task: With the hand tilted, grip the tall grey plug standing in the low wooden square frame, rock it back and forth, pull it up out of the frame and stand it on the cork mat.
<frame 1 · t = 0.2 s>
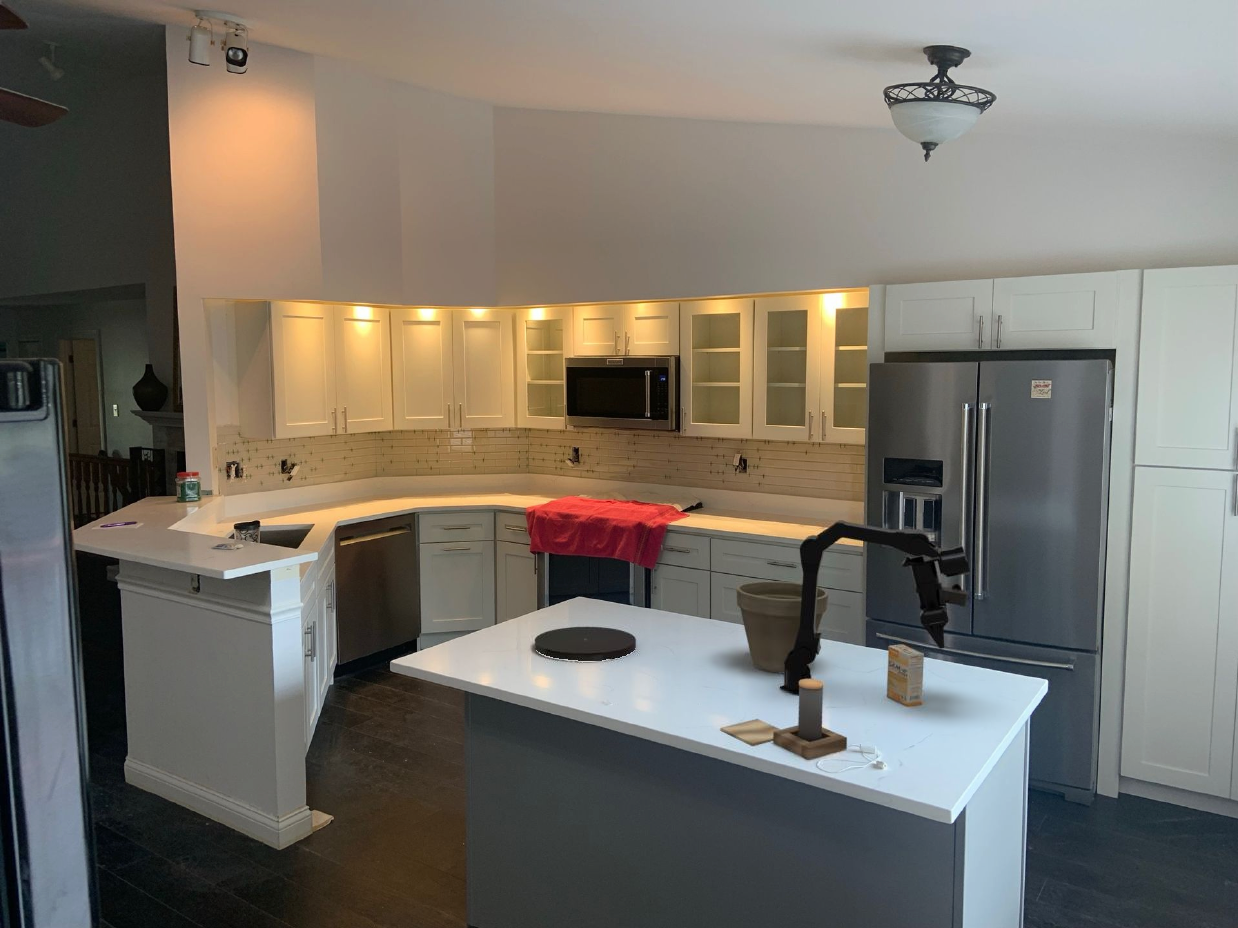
hand: (941, 643, 227), 15 cm above the countertop, tool pointing down, fingers open, 9 cm apart
cork mat: (755, 732, 208), on the countertop
disc: (585, 649, 276), on the countertop
plant pot: (780, 666, 259), on the countertop
wooden square frame: (809, 745, 201), on the countertop
supplement box: (904, 701, 231), on the countertop
plug: (810, 714, 201), in the wooden square frame
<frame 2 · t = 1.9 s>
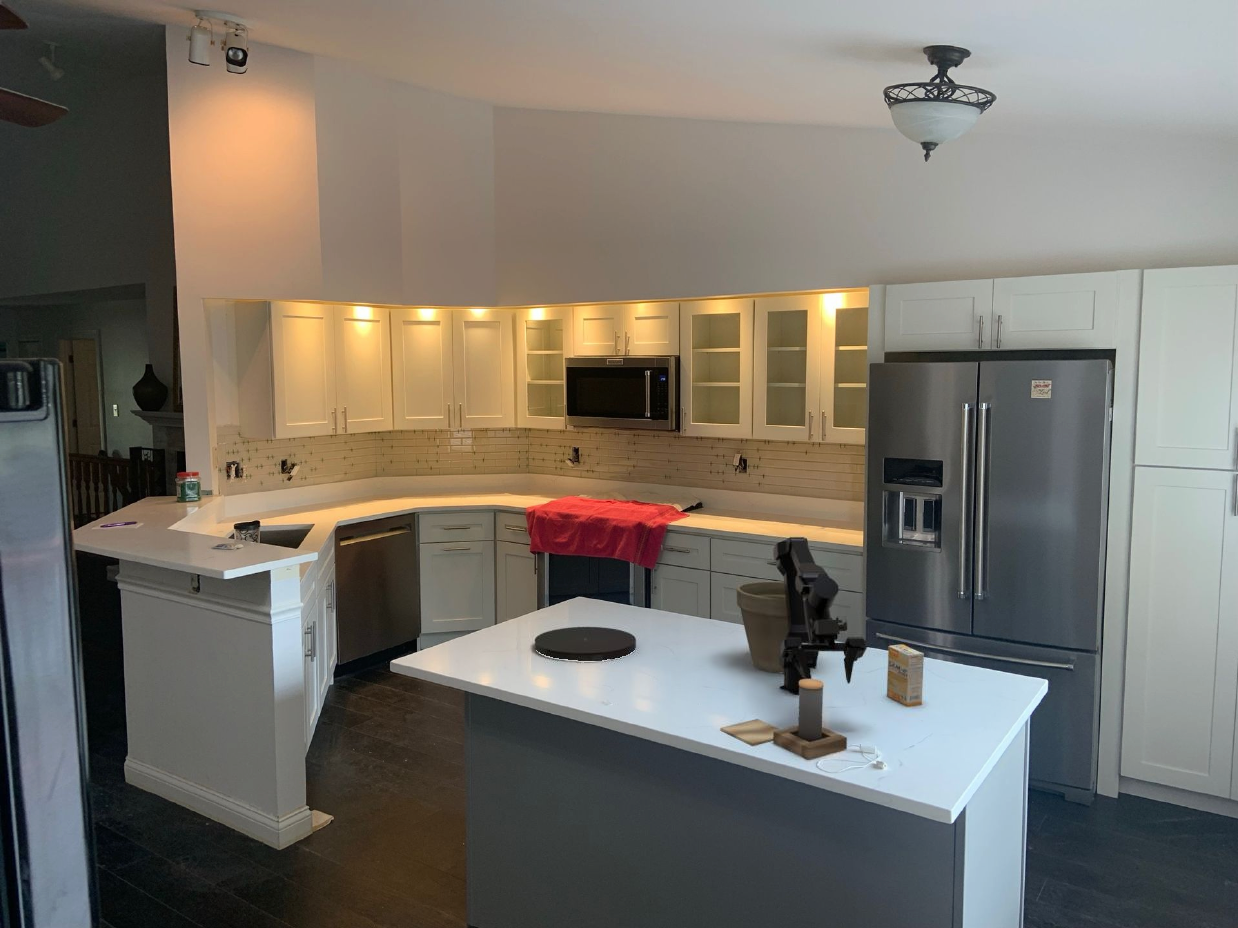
hand: (828, 682, 207), 12 cm above the countertop, tool tilted 40°, fingers open, 9 cm apart
nothing on the countertop moved.
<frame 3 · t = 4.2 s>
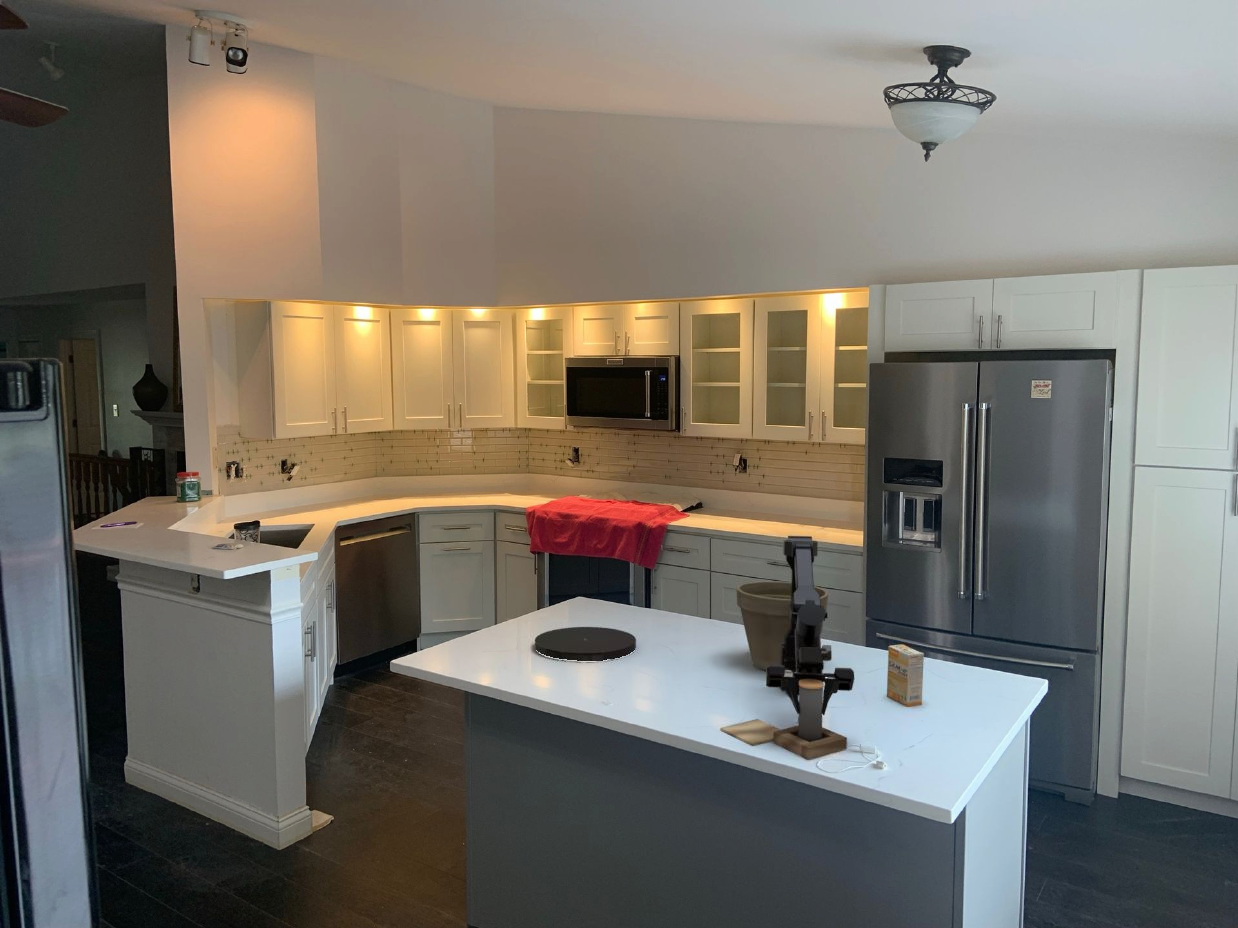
hand: (810, 713, 199), 8 cm above the countertop, tool tilted 45°, fingers closed on plug, 5 cm apart
plug: (810, 714, 201), in the wooden square frame, touching gripper
everything else where it was.
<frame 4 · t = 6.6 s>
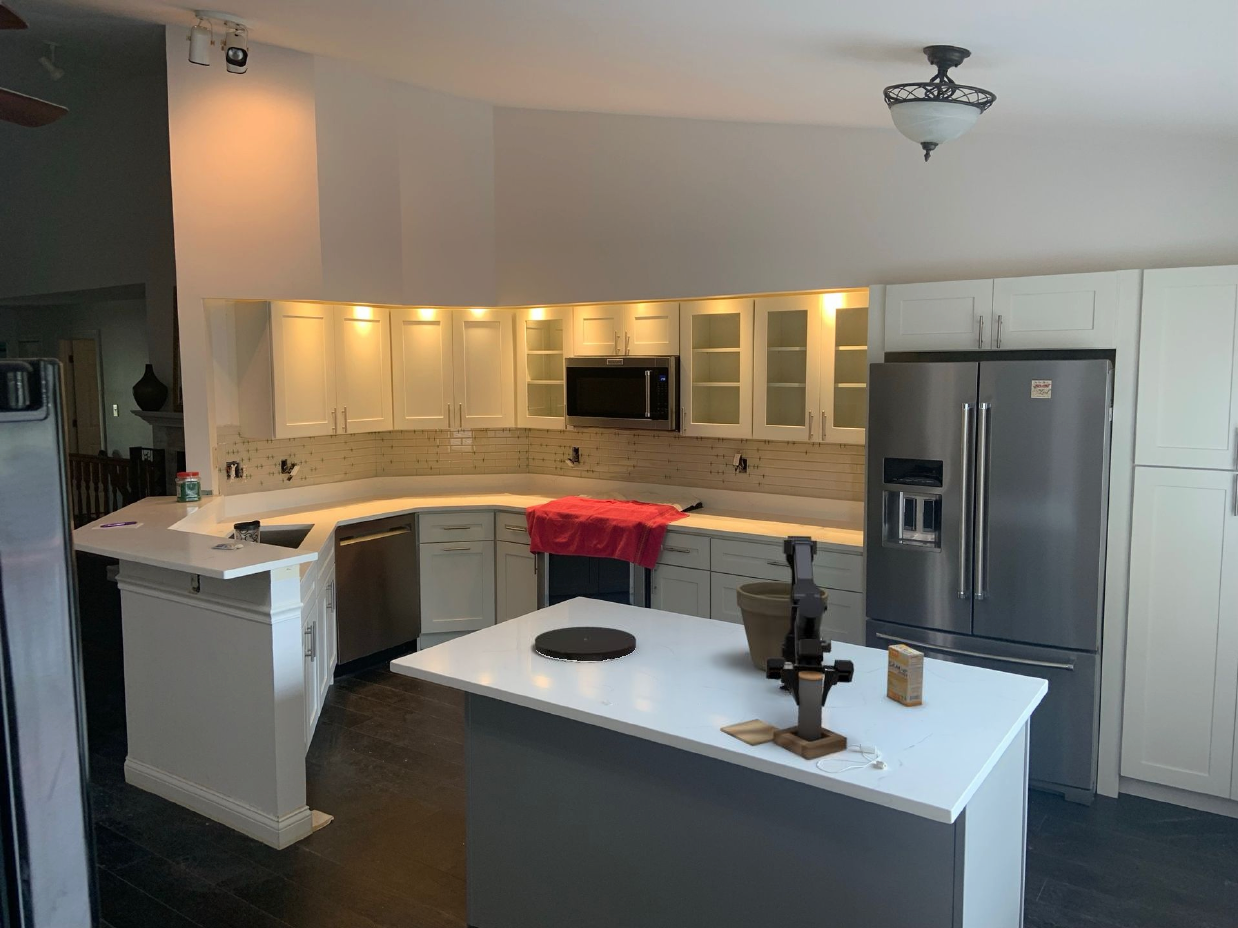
hand: (810, 705, 200), 9 cm above the countertop, tool tilted 45°, fingers closed on plug, 5 cm apart
plug: (810, 705, 201), point 9 cm above the countertop, touching gripper
everything else where it was.
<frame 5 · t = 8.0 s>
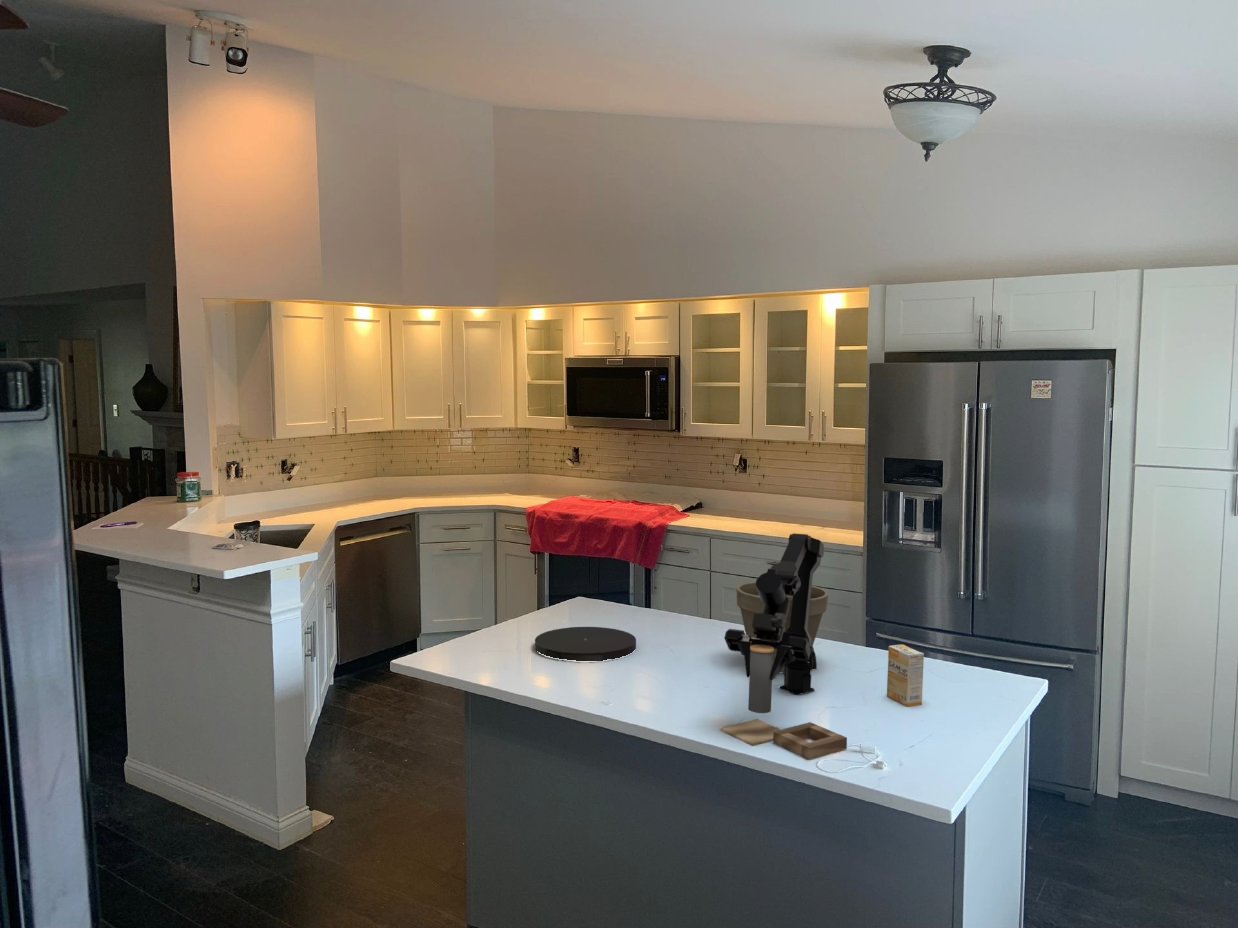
hand: (759, 677, 205), 13 cm above the countertop, tool tilted 45°, fingers closed on plug, 5 cm apart
plug: (760, 678, 207), point 13 cm above the countertop, touching gripper
everything else where it was.
when the fingers open (9 cm above the countertop, at t = 9.3 s): plug moves 1 cm, resting on cork mat.
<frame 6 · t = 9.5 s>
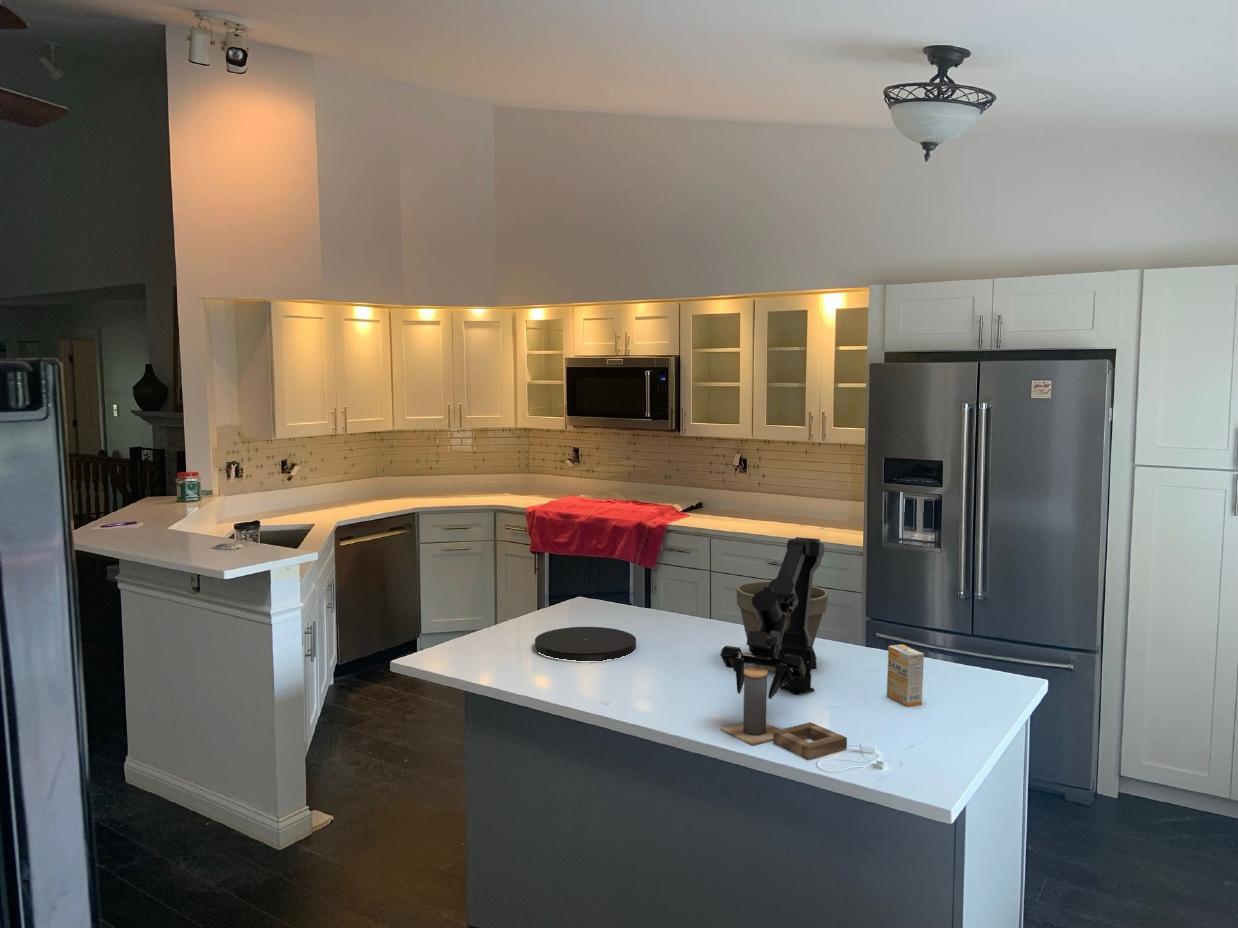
hand: (753, 695, 206), 9 cm above the countertop, tool tilted 45°, fingers open, 7 cm apart
plug: (755, 700, 207), on the cork mat
everything else where it was.
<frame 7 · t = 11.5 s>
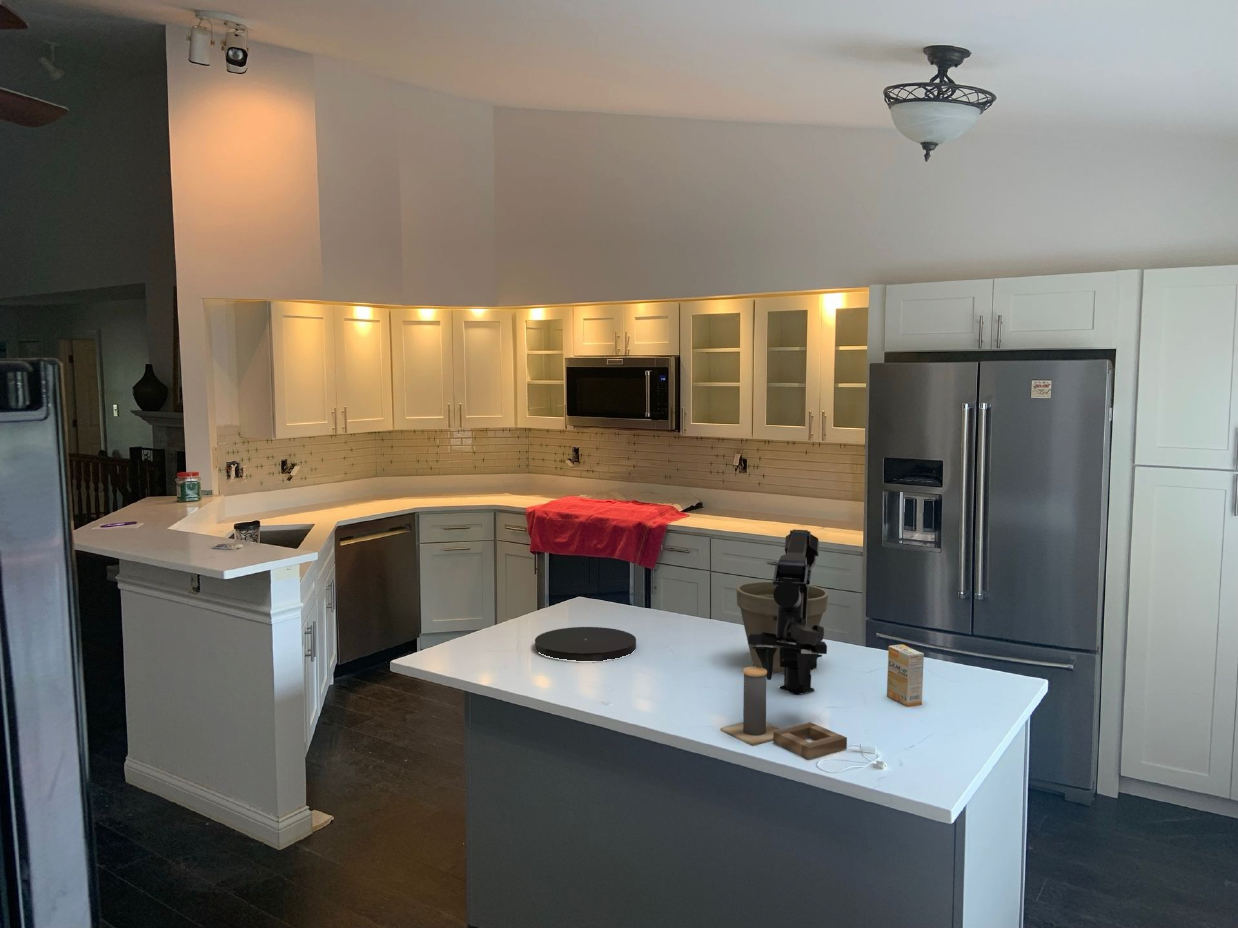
hand: (785, 681, 212), 10 cm above the countertop, tool tilted 20°, fingers open, 9 cm apart
nothing on the countertop moved.
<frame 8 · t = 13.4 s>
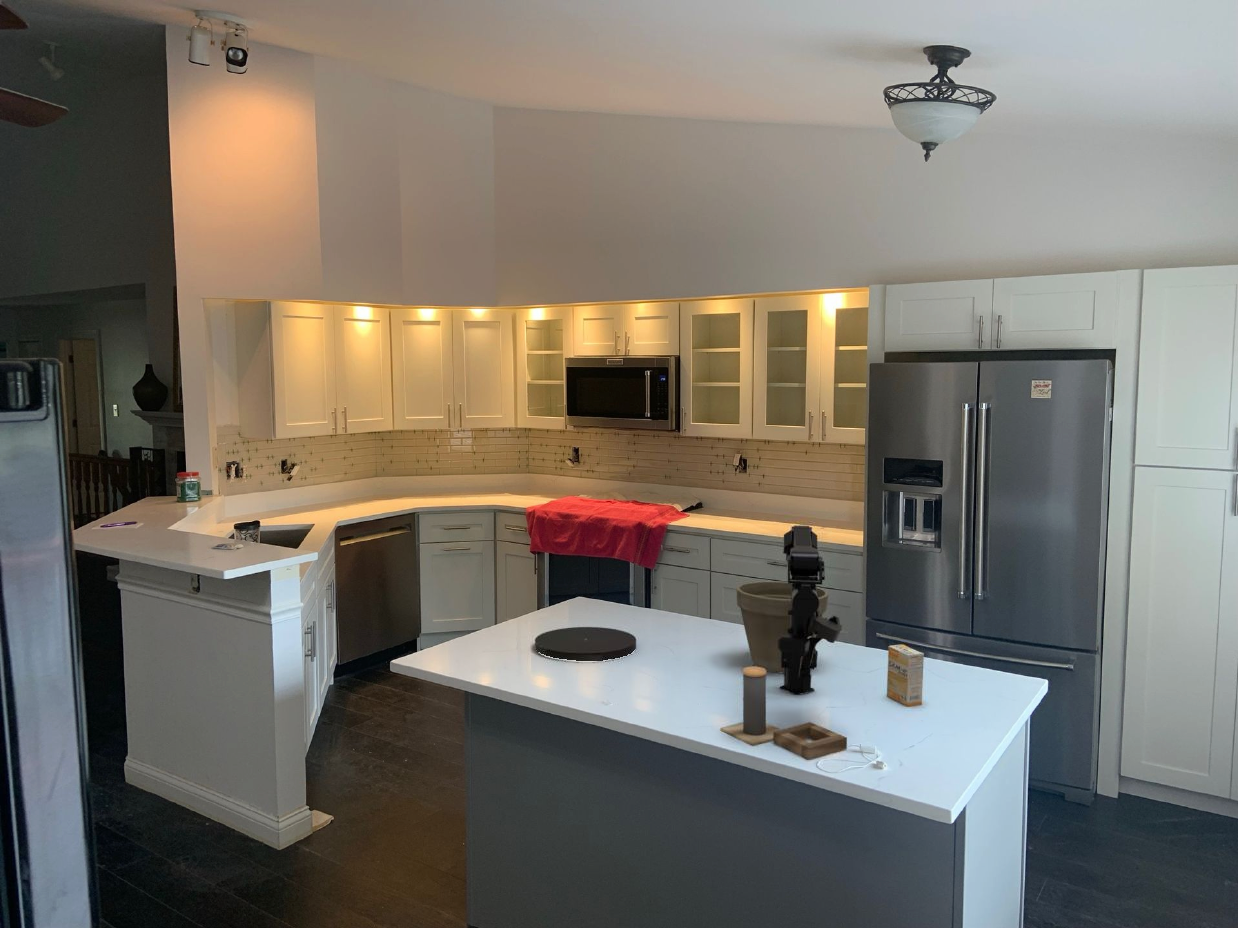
hand: (801, 672, 214), 12 cm above the countertop, tool pointing down, fingers open, 9 cm apart
nothing on the countertop moved.
at the end: plug inside the target area on the cork mat (0.5 cm from its centre), point 7.6 cm above the cork mat's base; plug tilted 2°; the gripper is holding nothing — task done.
